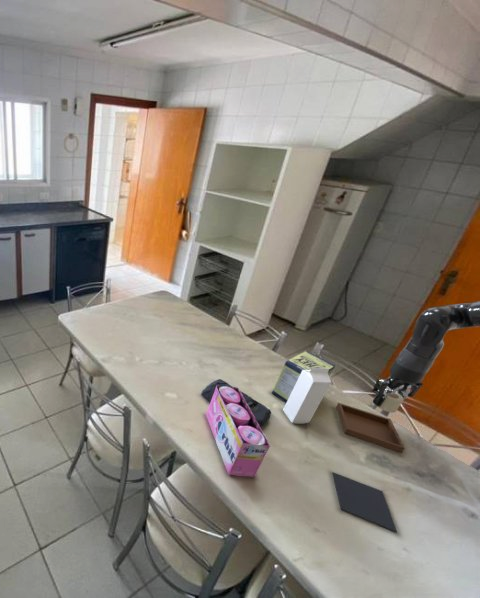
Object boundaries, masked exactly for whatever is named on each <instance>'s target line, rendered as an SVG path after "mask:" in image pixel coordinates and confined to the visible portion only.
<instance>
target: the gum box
mask: <svg viewBox="0 0 480 598" xmlns="http://www.w3.org/2000/svg"><path fill="white" fill-rule="evenodd" d="M232 387H233V388H230V387H226V386H225V387H220V388H219V385H218V386H216V389H215V392H214V394H213V397H212V400H211V402H209V406H208V408H207V411H206V414H205V416H206V419H207V421H208V425H209V428H210V429H211V432H212V435H213V438H214V440H215V443H216V446H217V448H218V451H219V453H220V456H221V460H222V461H223V464H224V467H225V470H226V472H227V474H228V475H229V476H238V477H251V478H255V477H256V475H257V473H258V471H259V469H260V466H261V465H262V463H263V462H264V459H265V457H266V455H267V454H268V452H269V449H270V447H271V444H270V443H269V440H268V438H267V436H266V435H265V433H264V431H263V430H262V428H261V426H259V424H258V423H257V421H256V419H255V417H254V415H253V414H252V412H251V410H250V408H249V406H248V405H247V403H246V401H245V399H244V397H243V395H242V394H241V392H242V391H241V390H240V389H239V387H237V386H232ZM240 391H241V392H240Z"/></svg>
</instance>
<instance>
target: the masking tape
mask: <svg viewBox="0 0 480 598" xmlns="http://www.w3.org/2000/svg"><path fill="white" fill-rule="evenodd" d="M388 389H389V390H390V391H391V389H390V388H388ZM385 393H386V391H384V393H383V394H385ZM404 401H405V399H404V398H403V397H402V396H401V395H400V394H398V393H397V392H395V393H394V394H393V395H391V394H390V395H389V396H387V397H386V398H385V400H384V402H383V403H382V405H381V406H376V407H377V408H378V409H379V410H380V409H381V410H382V411H384V412H387V413H391V414H392V413H396V412H397V411H398V409H399V408H400V406H401V405H402V404H403V402H404Z"/></svg>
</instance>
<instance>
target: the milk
mask: <svg viewBox="0 0 480 598" xmlns="http://www.w3.org/2000/svg"><path fill="white" fill-rule="evenodd" d="M328 371H329V369H323V368H312V369H311V370H302V372H301V374H300V376H299V378H298V380H297V382H296V384H295V386H294V388H293V390H292V392H291V394H290V396H289V399H288V401H287V403H286V402H285V405H284V406H283V409H282V412H283V413H284V414H285V416H286V417H287V419H288V420H289V421H290V422H291V424H301V425H307V424H308V423H310V422H311V420H312V418H313V417H314V415H315V413H316V412H317V409H318V407H319V406H320V405H321V402H322V401H323V398H324V397H325V396H326V393H327V391H328V390H329V388H330V387H331V385H332V381H331V378H330V376H329V375H328Z"/></svg>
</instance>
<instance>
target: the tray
mask: <svg viewBox="0 0 480 598" xmlns="http://www.w3.org/2000/svg"><path fill="white" fill-rule="evenodd" d="M335 408H336V412H337V415H338V419H339V422H340V426H341V428H342V432H343V434H345V435H347V436H351V437H353V438H357V439H359V440H362V441H364V442H368V443H371V444H373V445H377V446H380V447H383V448H385V449H388V450H391V451H394V452H397V453H400V454H402V453H403V452H404V450H405V449H406V448H405V445H404V443H403V441H402V439H401V437H400V435H399V433H398V431H397V429H396V427H395V425H394V423H393V421H392V419H391V418H388V417H385V416H382V415H378V414H376V413H372V412H369V411H366V410H363V409H359V408H356V407H355V406H350V405H348V404H344V403H341V402H337V405H336V406H335Z"/></svg>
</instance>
